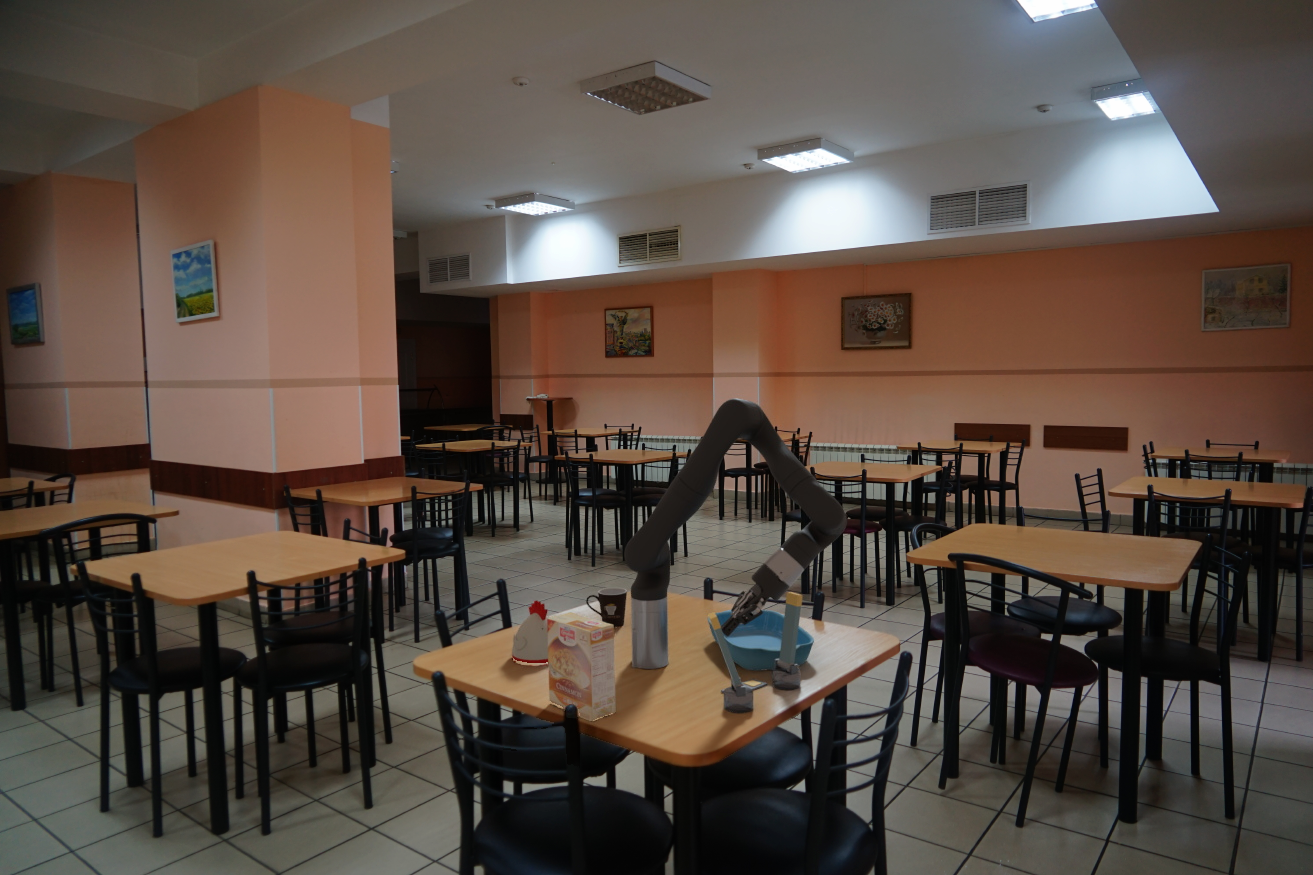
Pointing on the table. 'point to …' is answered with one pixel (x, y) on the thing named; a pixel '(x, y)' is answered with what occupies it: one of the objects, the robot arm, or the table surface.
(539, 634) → the kitchen timer
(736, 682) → the near lever
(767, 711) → the table surface
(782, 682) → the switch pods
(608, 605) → the coffee mug
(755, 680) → the chart card
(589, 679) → the coffeecake box
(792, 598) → the far lever
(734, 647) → the casserole dish
